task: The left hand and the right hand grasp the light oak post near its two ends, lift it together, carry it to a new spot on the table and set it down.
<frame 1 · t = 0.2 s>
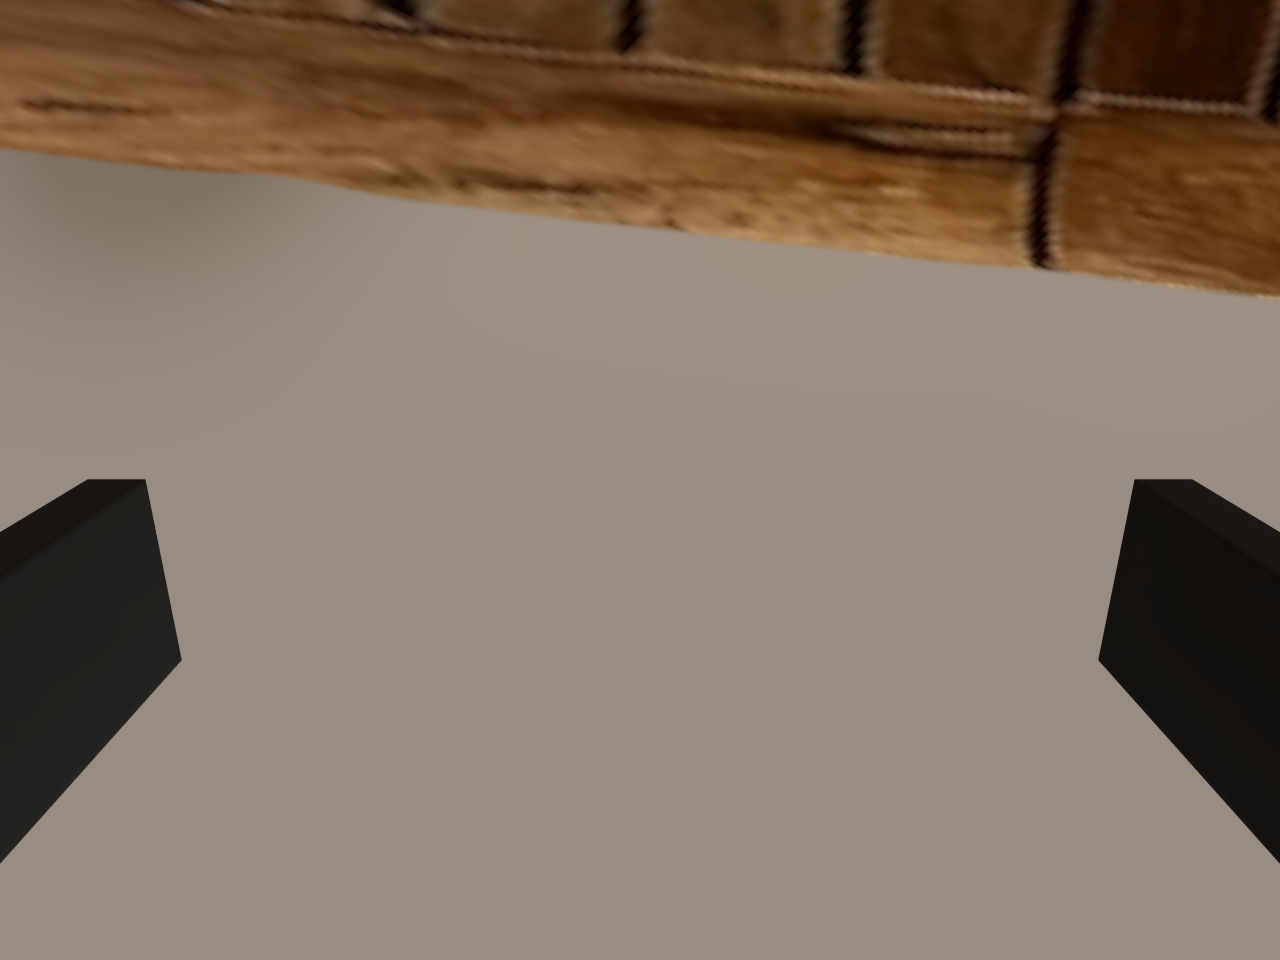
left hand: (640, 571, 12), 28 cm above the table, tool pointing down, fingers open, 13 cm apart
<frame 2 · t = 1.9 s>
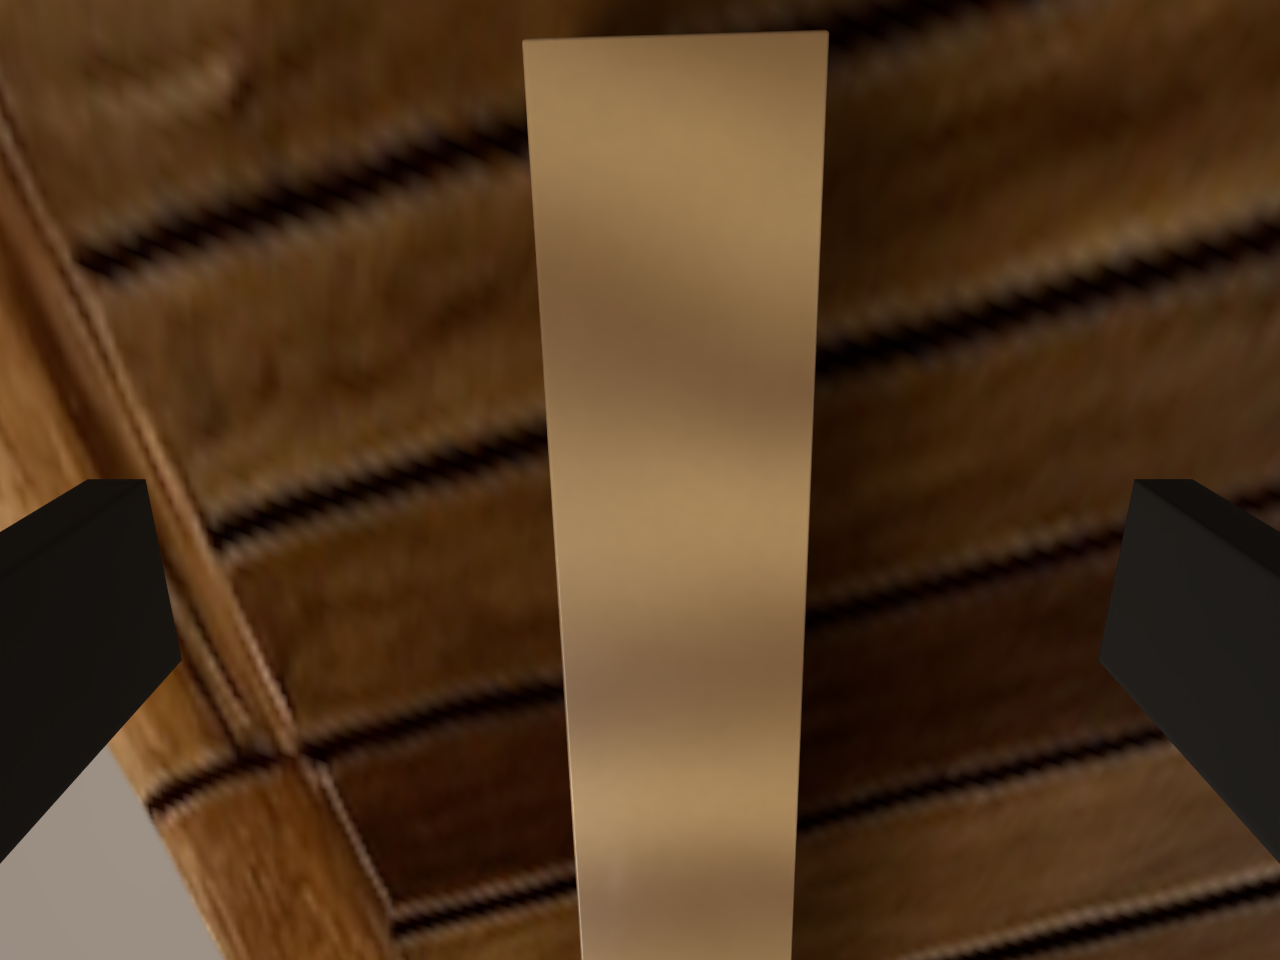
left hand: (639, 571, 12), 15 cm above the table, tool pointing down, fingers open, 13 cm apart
post: (676, 908, 34), on the table
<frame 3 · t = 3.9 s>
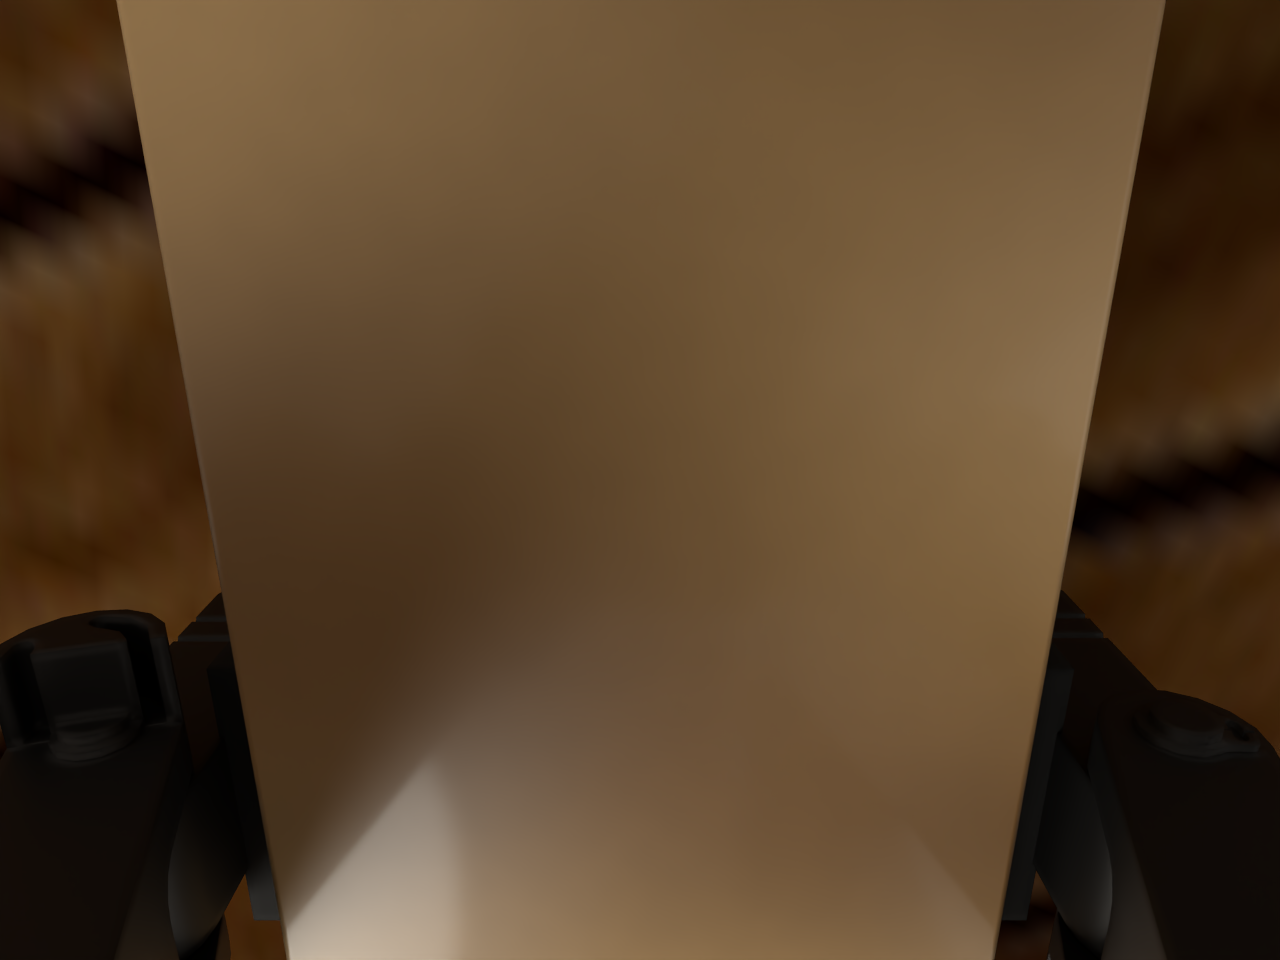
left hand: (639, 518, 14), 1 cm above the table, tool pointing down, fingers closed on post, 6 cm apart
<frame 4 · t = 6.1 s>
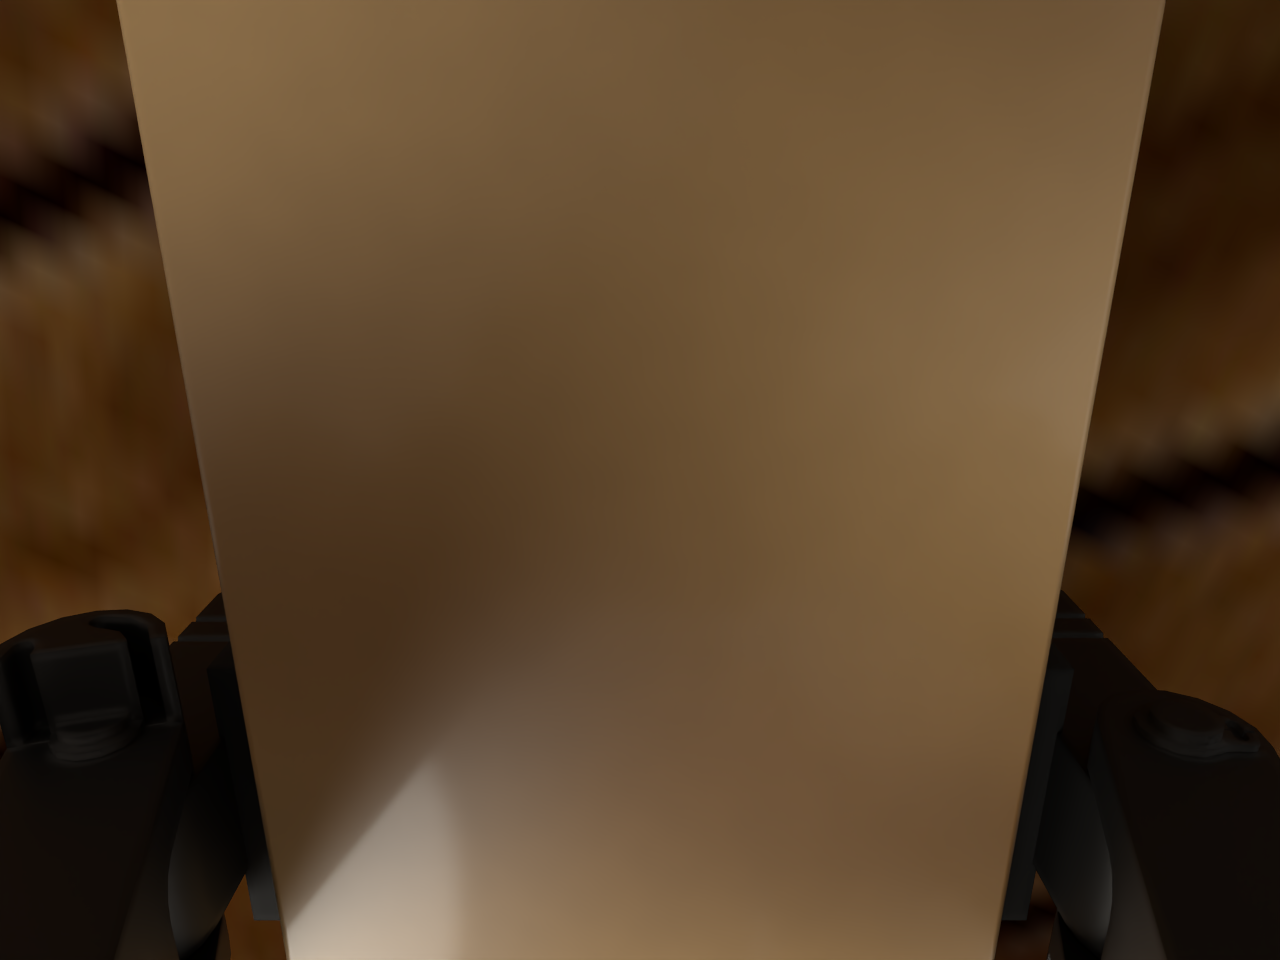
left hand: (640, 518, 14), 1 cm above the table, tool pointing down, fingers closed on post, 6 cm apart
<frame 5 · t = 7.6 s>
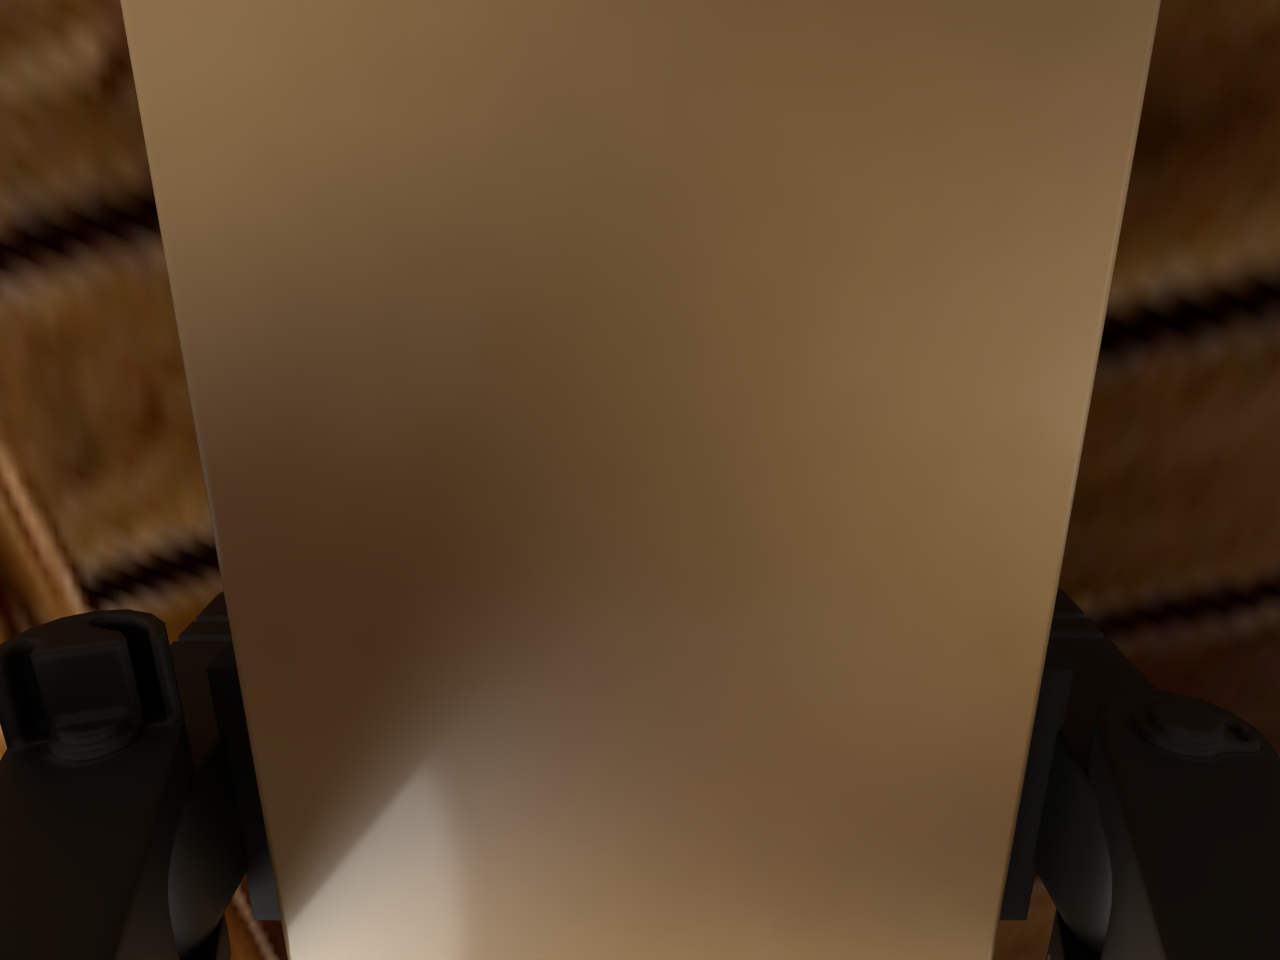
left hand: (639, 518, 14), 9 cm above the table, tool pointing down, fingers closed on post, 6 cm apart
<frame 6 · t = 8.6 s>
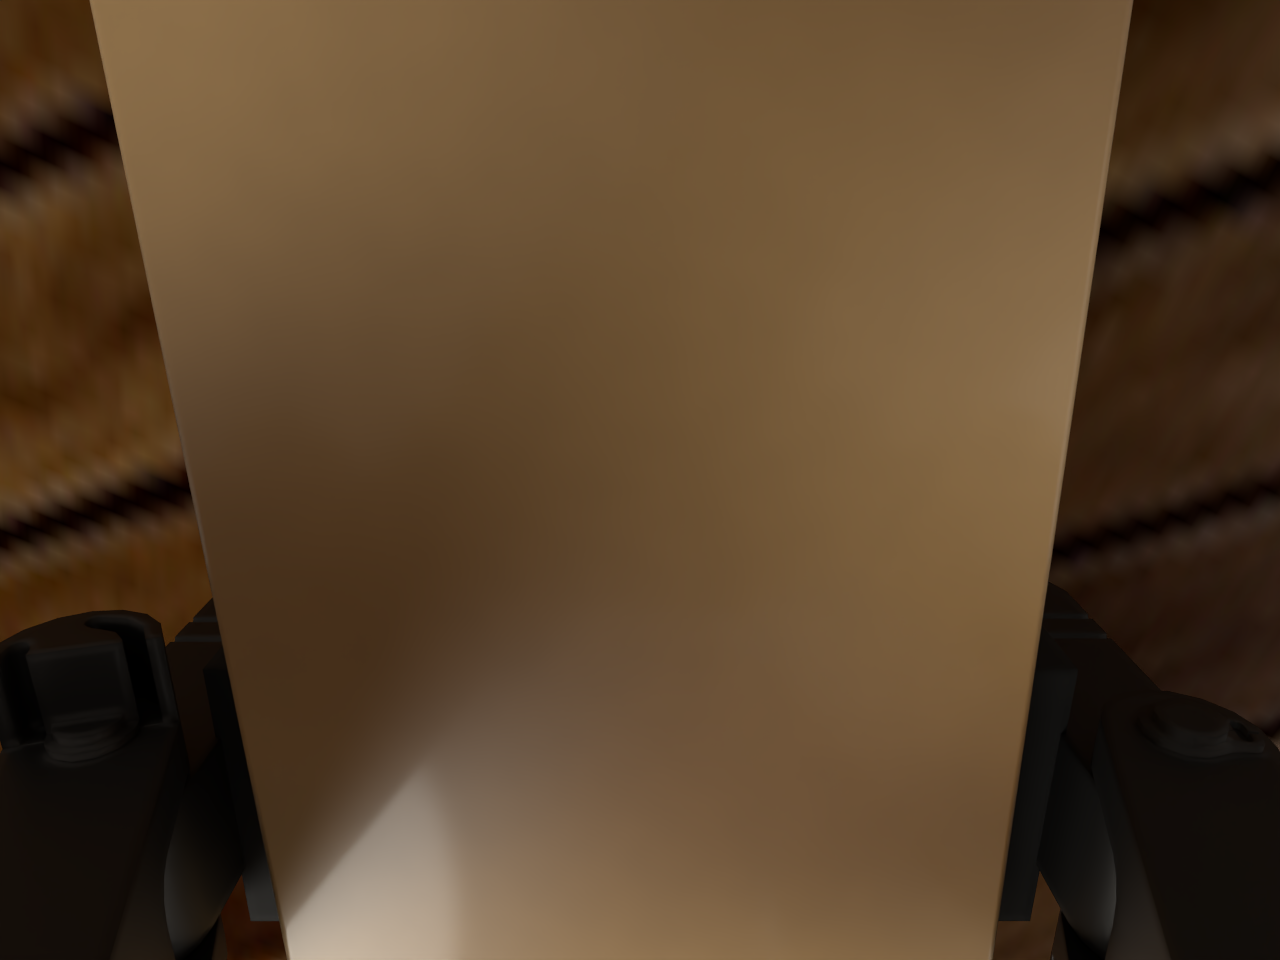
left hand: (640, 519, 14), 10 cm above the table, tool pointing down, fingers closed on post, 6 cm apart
when the left hand's fingers open (2 cm above the table, at t = 11.4 s): post drops 2 cm, on the table.
when the right hand's fingers open (2 cm above the table, at t = 11.4 s): post drops 2 cm, on the table.
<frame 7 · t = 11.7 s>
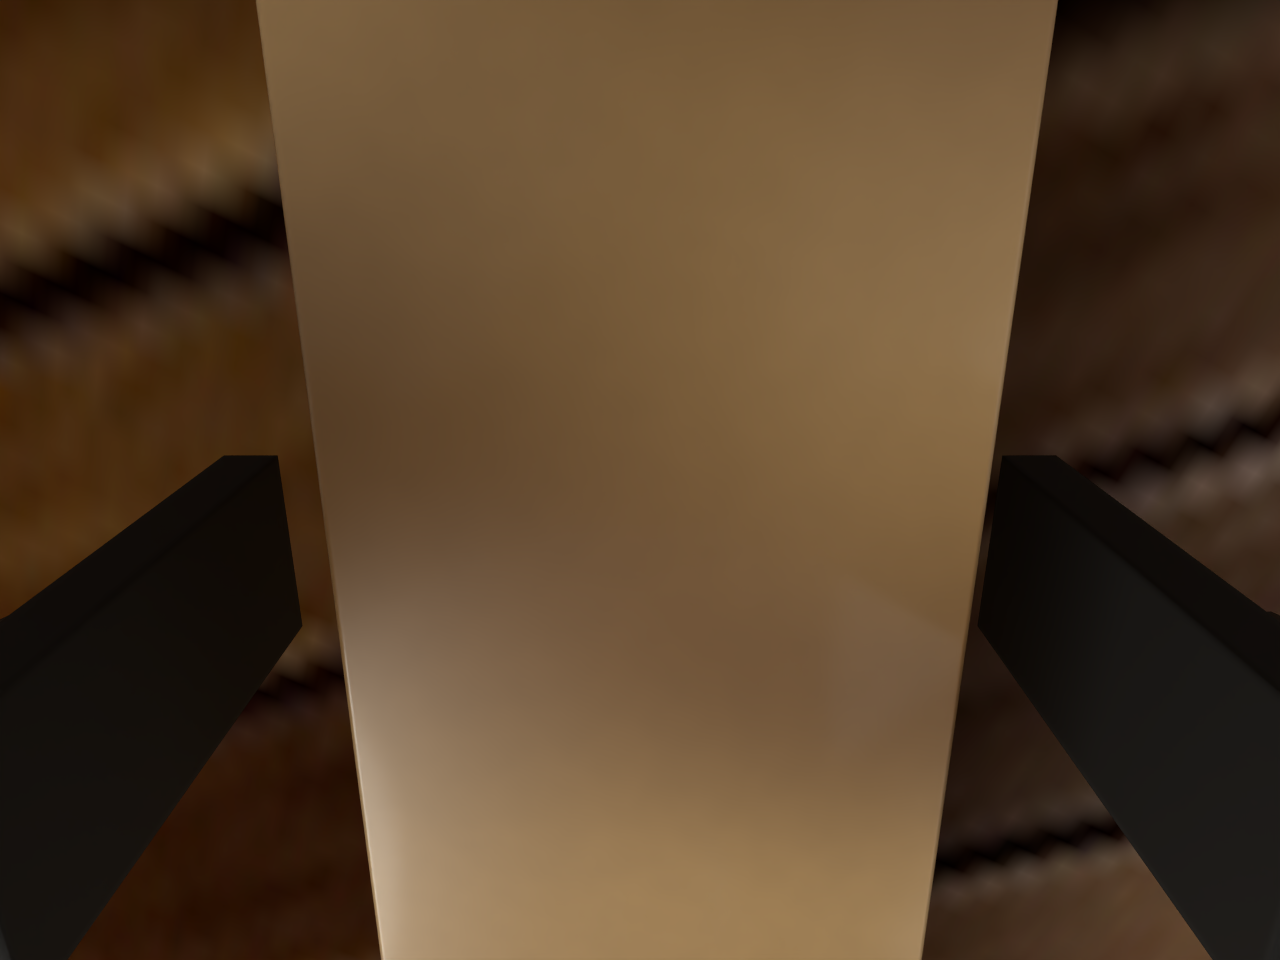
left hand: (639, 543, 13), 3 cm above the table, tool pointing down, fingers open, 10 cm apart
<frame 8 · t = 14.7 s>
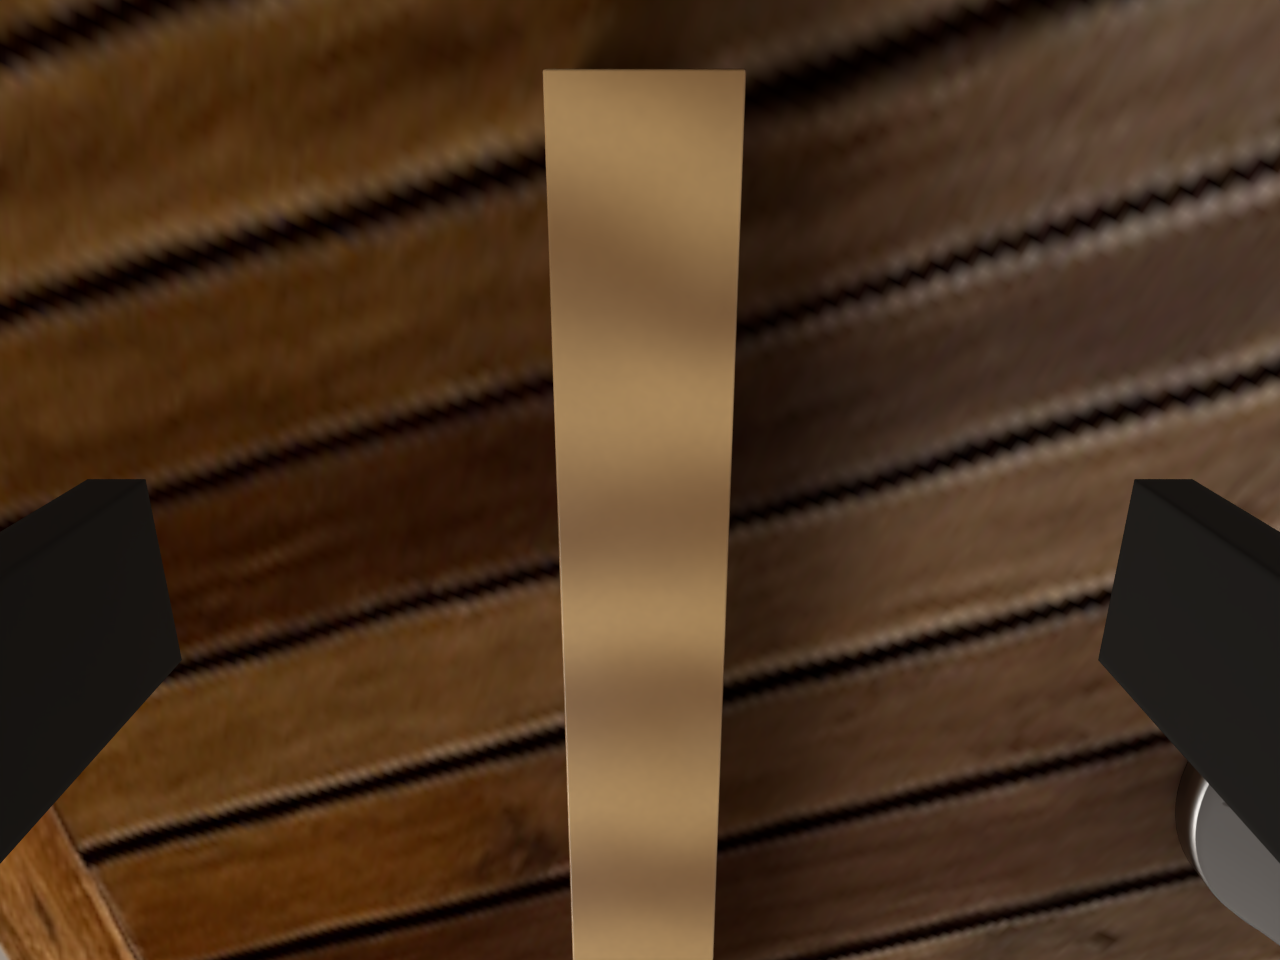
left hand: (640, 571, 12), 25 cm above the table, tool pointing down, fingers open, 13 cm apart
post: (642, 752, 43), on the table
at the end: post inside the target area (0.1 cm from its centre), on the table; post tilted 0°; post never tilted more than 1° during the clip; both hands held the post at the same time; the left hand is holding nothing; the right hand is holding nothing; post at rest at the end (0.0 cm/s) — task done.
